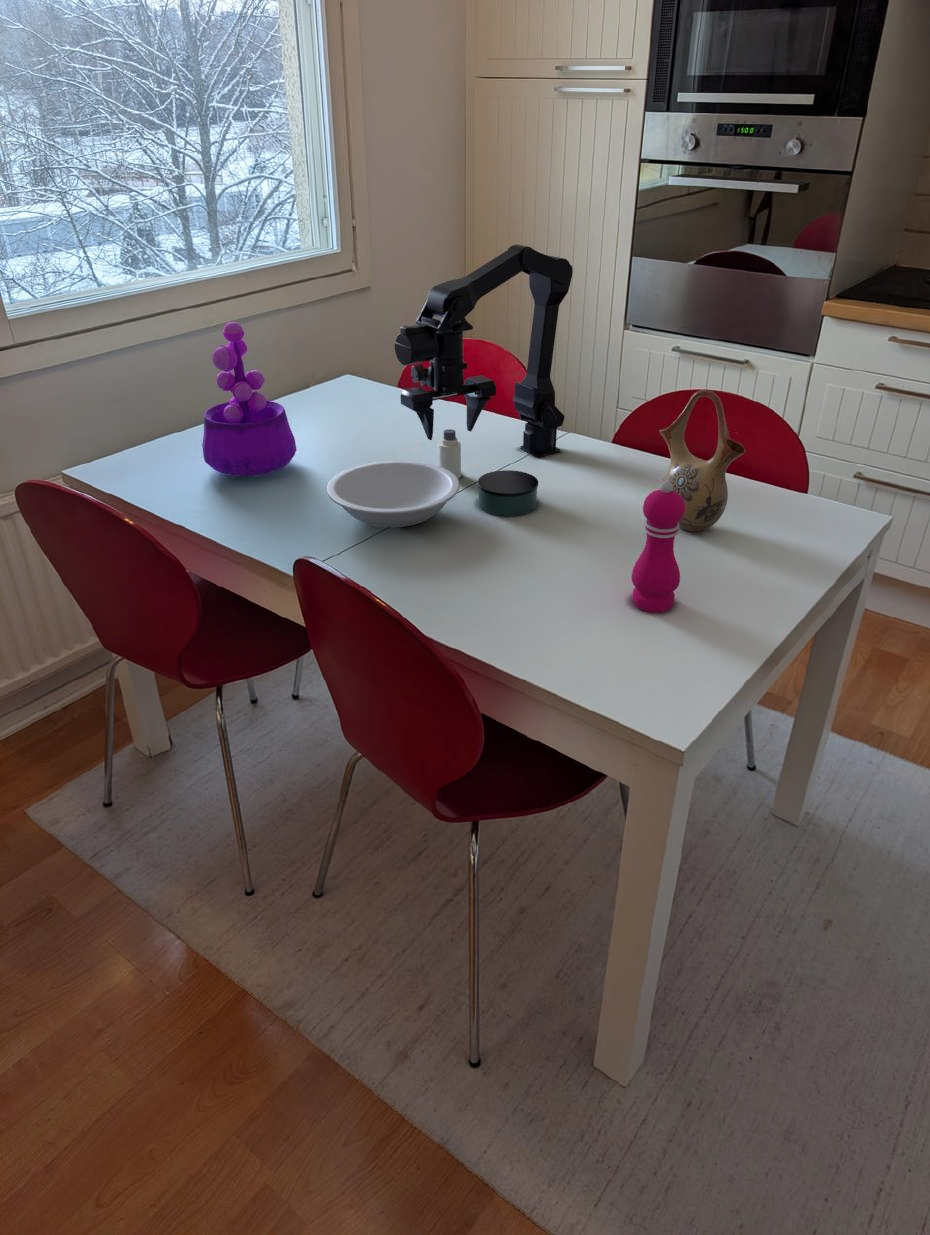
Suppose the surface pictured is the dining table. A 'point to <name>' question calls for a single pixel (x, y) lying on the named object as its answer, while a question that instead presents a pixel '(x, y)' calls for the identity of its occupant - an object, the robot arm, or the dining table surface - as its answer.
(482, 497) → the enamel tin
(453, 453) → the bottle
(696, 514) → the ceramic vessel
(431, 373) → the robot arm
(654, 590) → the pepper mill
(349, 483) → the soup bowl
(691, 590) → the dining table surface
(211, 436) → the decorative plant
